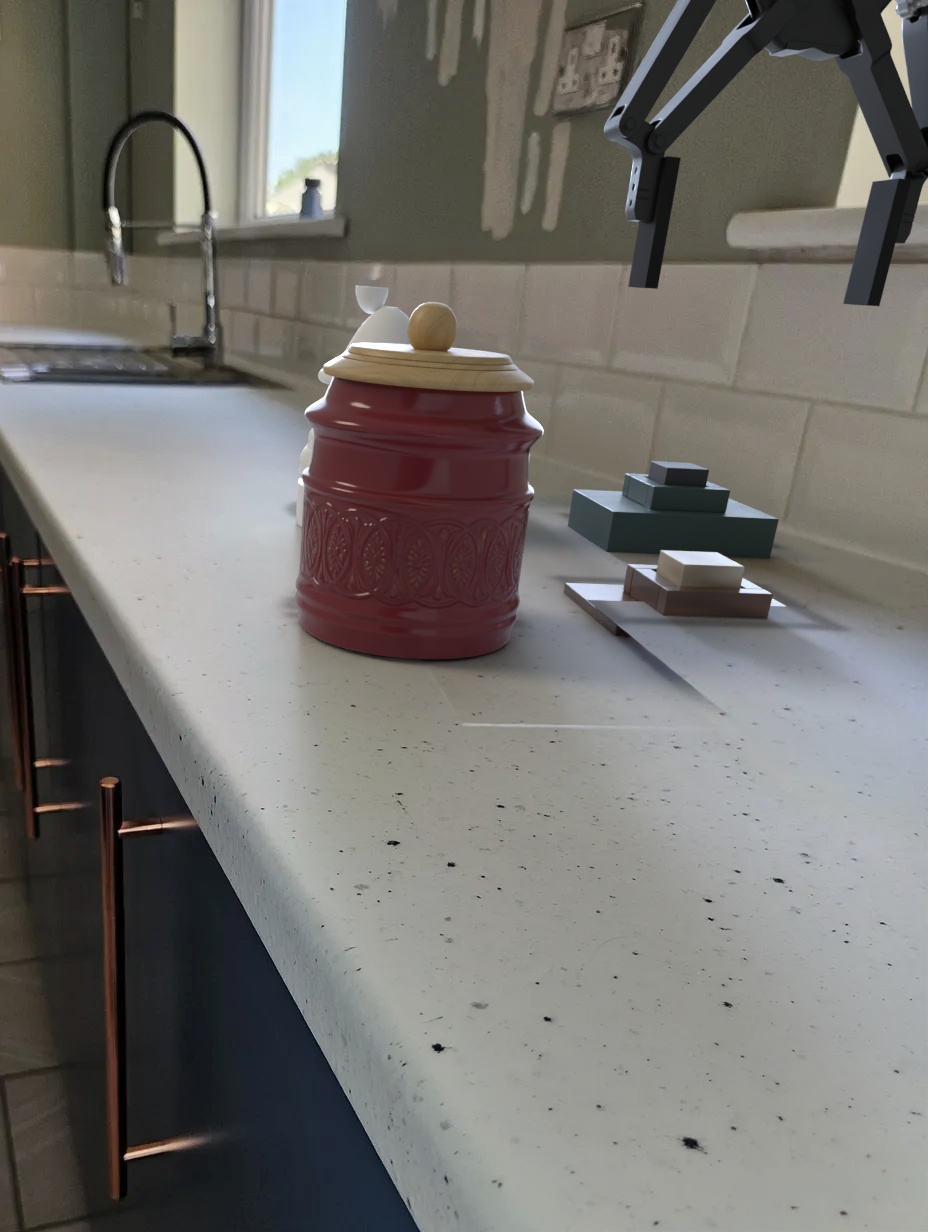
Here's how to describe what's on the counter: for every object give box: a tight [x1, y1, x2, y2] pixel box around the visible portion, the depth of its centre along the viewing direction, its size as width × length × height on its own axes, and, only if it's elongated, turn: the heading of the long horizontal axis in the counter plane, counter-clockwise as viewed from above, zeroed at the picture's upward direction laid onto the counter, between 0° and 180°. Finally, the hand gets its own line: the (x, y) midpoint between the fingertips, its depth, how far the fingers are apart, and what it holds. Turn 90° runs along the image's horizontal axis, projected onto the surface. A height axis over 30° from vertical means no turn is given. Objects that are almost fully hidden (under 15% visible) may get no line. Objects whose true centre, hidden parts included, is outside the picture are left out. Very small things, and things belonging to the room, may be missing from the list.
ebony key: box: [648, 460, 710, 487], centre depth 93 cm, size 4×4×2 cm
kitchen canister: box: [294, 301, 545, 660], centre depth 62 cm, size 13×13×18 cm
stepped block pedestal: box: [563, 563, 786, 637], centre depth 73 cm, size 14×10×2 cm
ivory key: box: [656, 550, 746, 588], centre depth 72 cm, size 4×4×2 cm
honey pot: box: [295, 285, 411, 528], centre depth 90 cm, size 13×13×18 cm
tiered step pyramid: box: [567, 472, 780, 559], centre depth 94 cm, size 14×10×5 cm
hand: (753, 297), depth 66 cm, fingers open, 13 cm apart
